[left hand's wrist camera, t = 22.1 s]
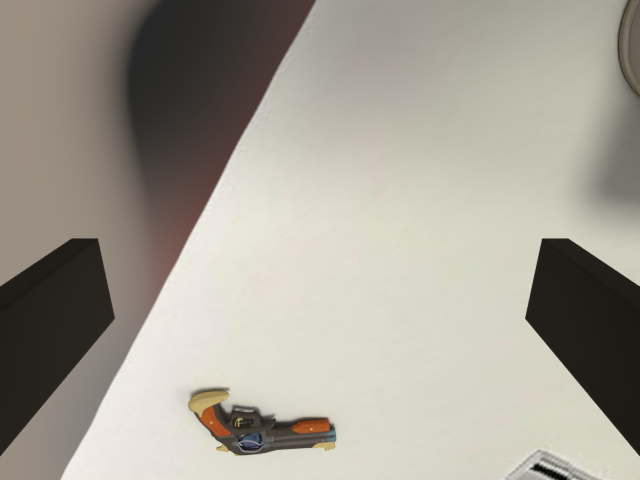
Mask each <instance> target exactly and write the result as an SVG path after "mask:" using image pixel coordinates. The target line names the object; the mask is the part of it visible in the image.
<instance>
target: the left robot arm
mask: <svg viewBox="0 0 640 480" xmlns="http://www.w3.org/2000/svg"><path fill="white" fill-rule="evenodd" d="M619 56H620V62H621V66H622V70H623V73H624V75H625V77H626V79H627V81H628V83H629V84H630V86H631V87H632V89H633V90H634V91H635V92H636V93H637V94H638V95H639V96H640V0H630V1H629V3H628V6H627V8H626V11H625V14H624V17H623V20H622V25H621V29H620V36H619ZM114 319H115V317H114V312H113V307H112V303H111V298H110V293H109V289H108V284H107V279H106V275H105V270H104V265H103V261H102V256H101V251H100V246H99V242H98V239H70V240H69V241H67V242H66V243H64V244H63V245H62V246H60V247H58V248H57V249H55V250H54V251H53V252H51V253H50V254H48V255H46V256H45V257H43V258H42V259H41V260H39V261H38V262H36V263H35V264H33V265H32V266H30V267H29V268H27V269H26V270H24V271H23V272H21V273H20V274H18V275H17V276H15V277H14V278H12V279H11V280H9V281H8V282H6V283H5V284H3V285H2V286H0V456H1V455H2V454H3V452H4V451H5V450H6V449H7V447H8V446H9V445H10V444H11V443H12V442H13V440H14V439H15V438H16V437H17V436H18V434H19V433H20V432H21V431H22V429H23V428H24V427H25V426H26V425H27V424H28V422H29V421H30V420H31V419H32V417H33V416H34V415H35V414H36V413H37V412H38V410H39V409H40V408H41V407H42V405H43V404H44V403H45V402H46V401H47V399H48V398H49V397H50V396H51V395H52V393H53V392H54V391H55V390H56V389H57V387H58V386H59V385H60V384H61V383H62V381H63V380H64V379H65V378H66V377H67V375H68V374H69V373H70V372H71V371H72V369H73V368H74V367H75V366H76V365H77V363H78V362H79V361H80V360H81V359H82V357H83V356H84V355H85V354H86V353H87V351H88V350H89V349H90V348H91V347H92V345H93V344H94V343H95V342H96V341H97V339H98V338H99V337H100V336H101V335H102V333H103V332H104V331H105V330H106V329H107V327H108V326H109V325H110V324H111V323H112V321H113V320H114ZM525 319H526V320H527V321H528V323H529V324H530V325H531V326H532V327H533V329H534V330H535V331H536V332H537V333H538V335H539V336H540V337H541V338H542V339H543V341H544V342H545V343H546V344H547V345H548V347H549V348H550V349H551V350H552V351H553V353H554V354H555V355H556V356H557V357H558V359H559V360H560V361H561V362H562V363H563V365H564V366H565V367H566V368H567V369H568V371H569V372H570V373H571V374H572V375H573V377H574V378H575V379H576V380H577V381H578V383H579V384H580V385H581V386H582V387H583V389H584V390H585V391H586V392H587V393H588V395H589V396H590V397H591V398H592V399H593V401H594V402H595V403H596V404H597V406H598V407H599V408H600V409H601V410H602V412H603V413H604V414H605V415H606V416H607V418H608V419H609V420H610V421H611V422H612V424H613V425H614V426H615V427H616V428H617V430H618V431H619V432H620V433H621V434H622V436H623V437H624V438H625V439H626V440H627V442H628V443H629V444H630V445H631V446H632V448H633V449H634V450H635V451H636V452H637V454H638V455H639V456H640V286H638V285H637V284H635V283H634V282H632V281H631V280H629V279H628V278H626V277H625V276H623V275H622V274H620V273H619V272H617V271H616V270H614V269H613V268H611V267H610V266H608V265H607V264H605V263H604V262H602V261H601V260H599V259H598V258H596V257H595V256H594V255H592V254H591V253H589V252H588V251H586V250H585V249H583V248H582V247H580V246H579V245H577V244H576V243H574V242H573V241H571V240H570V239H542V242H541V246H540V251H539V256H538V261H537V265H536V270H535V275H534V279H533V284H532V289H531V293H530V298H529V303H528V307H527V312H526V317H525Z"/></svg>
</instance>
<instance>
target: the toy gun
mask: <svg viewBox="0 0 640 480" xmlns="http://www.w3.org/2000/svg"><path fill="white" fill-rule="evenodd" d="M228 397H229V393H228V392H225V391H213V392H204V393H200V394H197V395H195V396H194V397H192V398H191V399H190V401H189V403H188V406H189V409H190V410H191V411H193V412H194V414H195V415H196V417H197V418H198V420H199V421H200V422H201V423H202V424H203V425H204V426H205V427H206V428H207V429H208V430H209V431H210V432H211V435H212V436H213V437H214V438H215V439H216V440H217V441H219V442H221V443H222V446H220V447H217V448H216V449H217V450H218V451H225V452H228V451H232V452H233V453H234V455H235V456H238V455H253V454H262V453H267V452H271V451H274V450H282V449H298V448H322V447H325V451H326V450H330V449H334V448H335V442H334V441H336V434H335V428H332V427H330V425H329V421H328V420H314V421H302V422H299V423H297V424H295V425H293V426H291V427H273V426H274V425H275V418H274V419H271V420H268V421H264V422H261V420H260V415H259V414H258V413H257V412H241V411H236V410H233V411H232V413H231V419H230V420H227V419H226V418H225V417H224V416H223V414H222V413H221V411H220V408H219V403H220V402H222V401H224V400H225V399H227V398H228ZM235 417H237V420H236V422H237V421H238V424H236V422H235V423H233V419H234V418H235ZM243 418H244V419H253V422H252V423H245V424H239V421H240V420H242V419H243ZM244 434H246V435H245V436H244V437H242V438H241V439H240V438H239V437H240V435H244ZM238 435H239V436H238ZM261 442H262V443H261ZM239 443H240V444H242V445H243V446H241V445H239Z"/></svg>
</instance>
